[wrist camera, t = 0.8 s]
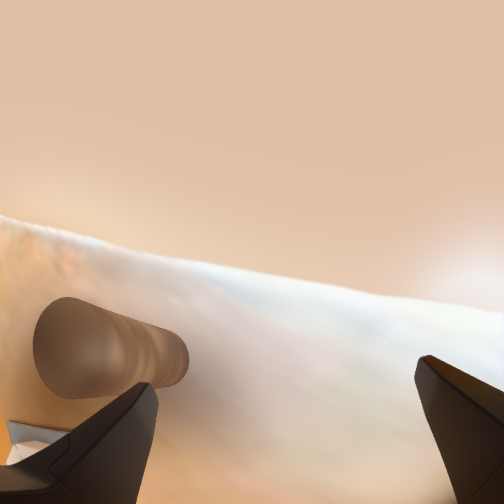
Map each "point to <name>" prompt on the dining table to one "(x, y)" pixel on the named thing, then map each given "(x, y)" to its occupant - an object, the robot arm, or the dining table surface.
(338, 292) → the dining table surface
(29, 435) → the socket plate
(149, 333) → the walnut peg
